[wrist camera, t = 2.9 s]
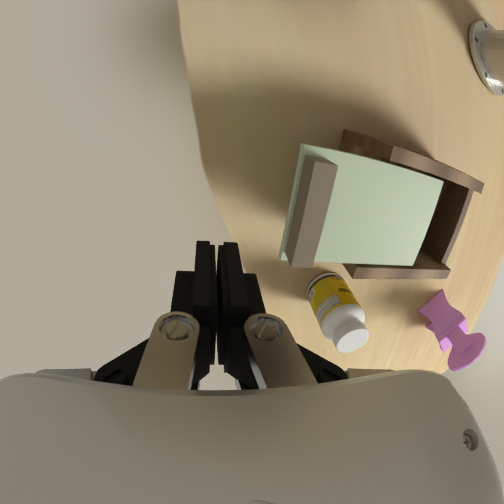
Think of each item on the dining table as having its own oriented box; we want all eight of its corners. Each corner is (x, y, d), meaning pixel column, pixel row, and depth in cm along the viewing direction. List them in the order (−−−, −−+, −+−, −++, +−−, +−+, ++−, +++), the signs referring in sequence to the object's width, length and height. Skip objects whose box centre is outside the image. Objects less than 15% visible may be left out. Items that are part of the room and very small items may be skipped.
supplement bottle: (349, 286, 36) (380, 337, 27) (318, 308, 37) (342, 363, 29) (331, 263, 33) (364, 316, 25) (298, 288, 35) (320, 346, 26)
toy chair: (423, 331, 46) (457, 385, 33) (413, 314, 42) (454, 375, 29) (452, 306, 44) (490, 356, 31) (446, 285, 40) (492, 340, 27)
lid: (438, 178, 20) (458, 189, 17) (409, 262, 24) (423, 277, 22) (301, 142, 17) (314, 149, 15) (278, 255, 22) (286, 275, 19)
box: (434, 159, 27) (484, 183, 19) (408, 241, 33) (446, 278, 25) (344, 129, 25) (393, 145, 17) (320, 232, 31) (352, 278, 23)
